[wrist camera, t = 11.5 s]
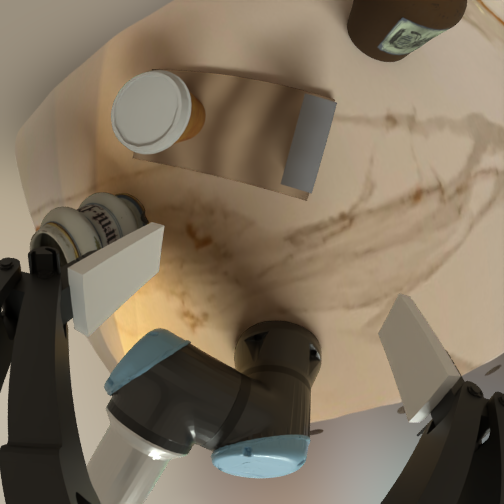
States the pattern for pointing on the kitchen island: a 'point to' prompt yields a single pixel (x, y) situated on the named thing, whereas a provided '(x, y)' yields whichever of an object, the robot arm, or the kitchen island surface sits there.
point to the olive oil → (400, 25)
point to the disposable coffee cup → (155, 112)
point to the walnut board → (254, 133)
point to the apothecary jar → (89, 225)
